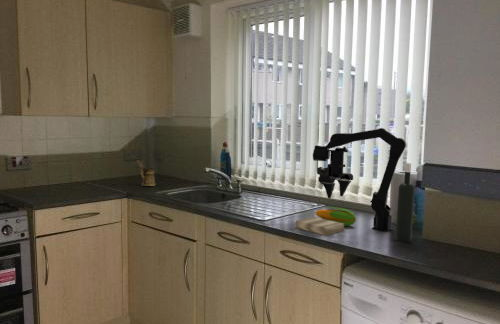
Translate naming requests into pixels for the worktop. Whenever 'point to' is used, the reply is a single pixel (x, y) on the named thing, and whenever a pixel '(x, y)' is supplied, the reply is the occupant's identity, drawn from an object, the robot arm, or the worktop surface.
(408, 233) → the wine bottle
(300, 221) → the birch base
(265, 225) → the worktop surface
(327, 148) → the robot arm
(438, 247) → the worktop surface
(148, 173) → the wooden mug
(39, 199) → the worktop surface
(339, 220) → the corn
